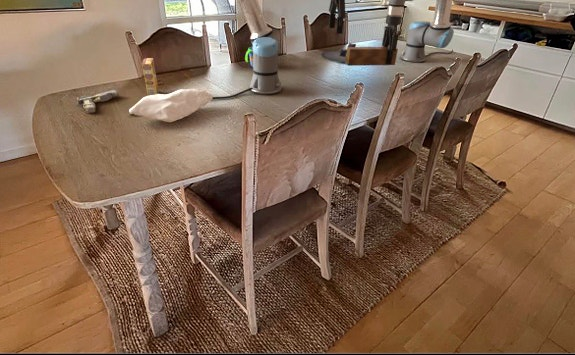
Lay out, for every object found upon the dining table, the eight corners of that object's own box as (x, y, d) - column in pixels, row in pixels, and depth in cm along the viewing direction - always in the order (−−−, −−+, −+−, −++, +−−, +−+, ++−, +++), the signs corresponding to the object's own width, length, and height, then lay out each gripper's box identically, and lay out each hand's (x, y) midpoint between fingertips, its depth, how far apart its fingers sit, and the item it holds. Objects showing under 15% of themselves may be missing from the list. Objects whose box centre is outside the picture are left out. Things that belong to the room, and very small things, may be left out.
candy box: (157, 97, 164) (152, 63, 155) (147, 98, 163) (141, 63, 155) (158, 91, 171) (153, 57, 163) (149, 91, 170) (143, 58, 162)
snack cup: (264, 62, 219) (264, 45, 213) (273, 67, 211) (274, 49, 206) (241, 65, 211) (240, 47, 206) (250, 70, 204) (249, 51, 198)
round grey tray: (386, 59, 233) (388, 44, 229) (346, 66, 216) (347, 50, 211) (349, 51, 258) (350, 37, 253) (310, 56, 240) (311, 42, 236)
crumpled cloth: (117, 110, 146) (113, 90, 140) (195, 92, 166) (194, 73, 160) (143, 139, 134) (140, 118, 128) (223, 116, 154) (224, 96, 148)
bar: (348, 65, 187) (350, 49, 183) (345, 62, 192) (347, 46, 187) (394, 65, 192) (397, 49, 187) (391, 62, 196) (394, 46, 191)
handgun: (128, 97, 156) (111, 87, 164) (86, 107, 144) (70, 97, 152) (129, 103, 157) (113, 94, 165) (88, 114, 146) (72, 103, 154)
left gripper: (355, -17, 155) (350, 35, 166) (339, -22, 176) (336, 25, 187) (338, -17, 154) (334, 36, 165) (324, -22, 174) (321, 25, 186)
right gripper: (409, 18, 173) (399, 67, 186) (394, 12, 188) (386, 58, 201) (394, 18, 172) (385, 67, 185) (380, 12, 187) (373, 58, 200)
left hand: (335, 30), depth 176 cm, fingers open, 13 cm apart
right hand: (386, 62), depth 193 cm, fingers closed on bar, 5 cm apart
